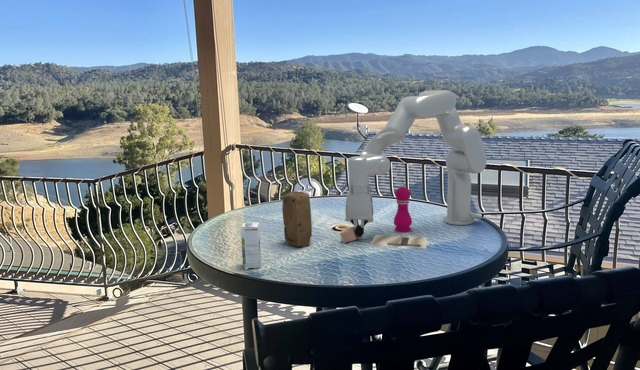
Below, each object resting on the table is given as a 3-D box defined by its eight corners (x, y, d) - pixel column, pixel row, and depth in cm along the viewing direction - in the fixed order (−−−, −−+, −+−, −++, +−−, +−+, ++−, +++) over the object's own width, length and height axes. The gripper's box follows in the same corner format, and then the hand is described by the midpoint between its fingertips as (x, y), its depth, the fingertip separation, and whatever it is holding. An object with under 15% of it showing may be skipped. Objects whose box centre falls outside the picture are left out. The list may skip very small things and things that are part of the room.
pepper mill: (411, 235, 186) (412, 185, 182) (393, 234, 187) (393, 185, 183) (412, 229, 192) (412, 181, 189) (394, 229, 194) (394, 181, 190)
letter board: (427, 239, 180) (427, 237, 179) (425, 250, 167) (425, 248, 167) (375, 236, 185) (375, 234, 185) (370, 247, 172) (370, 245, 172)
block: (314, 244, 178) (312, 193, 174) (298, 249, 173) (296, 196, 169) (296, 238, 186) (294, 189, 182) (281, 243, 181) (278, 192, 177)
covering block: (357, 235, 182) (354, 226, 182) (356, 239, 177) (352, 229, 177) (346, 239, 183) (342, 229, 183) (343, 243, 179) (340, 233, 178)
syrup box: (244, 263, 161) (241, 222, 158) (261, 262, 161) (259, 221, 158) (243, 269, 155) (240, 227, 152) (261, 268, 156) (258, 226, 153)
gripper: (380, 187, 177) (380, 234, 181) (341, 187, 181) (342, 232, 185) (377, 192, 170) (377, 240, 174) (337, 191, 174) (338, 238, 178)
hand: (359, 236), depth 179 cm, fingers closed
